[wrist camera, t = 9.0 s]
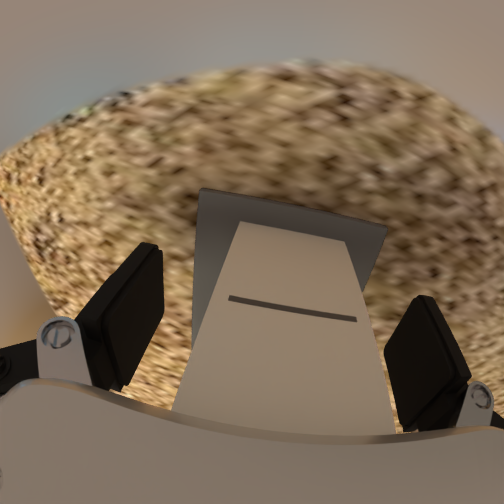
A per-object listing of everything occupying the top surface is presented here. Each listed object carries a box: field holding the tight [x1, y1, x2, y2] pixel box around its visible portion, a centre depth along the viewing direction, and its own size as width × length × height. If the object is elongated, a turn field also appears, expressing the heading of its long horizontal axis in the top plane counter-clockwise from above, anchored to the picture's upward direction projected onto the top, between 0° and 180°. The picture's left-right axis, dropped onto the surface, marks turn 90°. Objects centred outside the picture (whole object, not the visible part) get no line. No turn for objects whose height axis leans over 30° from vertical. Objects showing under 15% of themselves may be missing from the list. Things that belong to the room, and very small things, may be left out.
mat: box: [192, 188, 388, 349], centre depth 20 cm, size 9×29×1 cm, turn 171°
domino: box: [171, 221, 396, 436], centre depth 9 cm, size 5×2×11 cm, turn 81°
